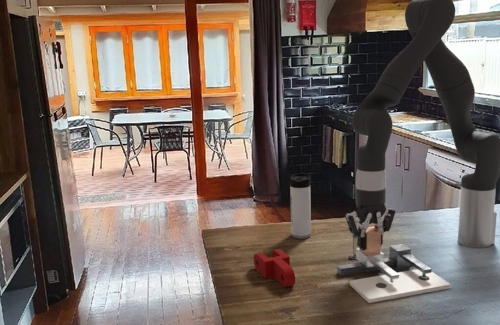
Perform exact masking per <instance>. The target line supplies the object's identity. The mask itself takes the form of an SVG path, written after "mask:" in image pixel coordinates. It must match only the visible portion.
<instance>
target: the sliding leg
mask: <svg viewBox="0 0 500 325" xmlns="http://www.w3.org/2000/svg"><path fill="white" fill-rule="evenodd" d="M364 237H365V250H361V249H360V248H359V247H358V248H356V259H357V260H356V261H358V262H361V263H362V264H363V265H364V266H366V267H372V266H375V267H376V268H378V269H379V270H378V271H380V272H381V273H382V274H383V275H386V276H388V277H389V278H390V282H391V283H393V281H394V279H398V278H399V274H398V272H397V271H395V270H394V269H393V268H390V267H388V266H387V265H386V264H384V258H385V253H383V252H382V251H381V249H382V245H381V231H380V230H378V229H377V228H375V227H374V225H373V226H368V229H366V233H365V236H364Z"/></svg>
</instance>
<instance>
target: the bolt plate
mask: <svg viewBox="0 0 500 325" xmlns="http://www.w3.org/2000/svg"><path fill="white" fill-rule="evenodd" d="M397 273H398V274H399V278H398V279H394V281H393V283H391V282H390V278H389V277H388V276H386V275H385V274H381V275H374V276H370V277H364V278H359V279H353V280H349V286H350V287H352V288H353V289H354V290H355V291H356V292H357V293H358V294H359V295H360V296H361V297H362V298H363V299H364V300H365V301H366V302H367V303H369V304H371V303H377V302H382V301H388V300H394V299H399V298H405V297H409V296H410V297H411V296H415V295H420V294H425V293H426V294H427V293H431V292H437V291H441V290H442V291H443V290H448V289H451V283H449V282H448V281H446V280H445V279H444V278H442V277H440V276H439V275H437V274H436V273H435V272H433V271H431V273H427V274H426V277H423V276H422V272H421V271H419V270H418V269H417V268H415V269H410V270H405V271H399V272H397Z"/></svg>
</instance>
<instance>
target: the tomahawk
mask: <svg viewBox="0 0 500 325" xmlns="http://www.w3.org/2000/svg"><path fill="white" fill-rule="evenodd" d="M356 248H359V247H358V246H357V236H355V235H354V234H353V255H349V256H348V260H350V261H352V260H353V261H358V260H357V259H356Z"/></svg>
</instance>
